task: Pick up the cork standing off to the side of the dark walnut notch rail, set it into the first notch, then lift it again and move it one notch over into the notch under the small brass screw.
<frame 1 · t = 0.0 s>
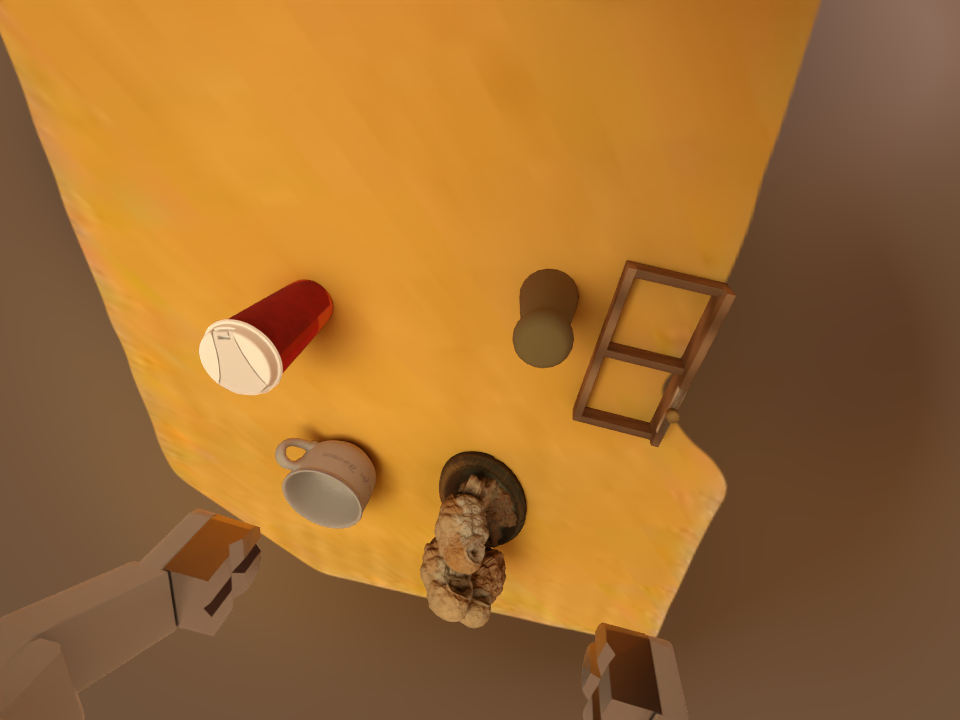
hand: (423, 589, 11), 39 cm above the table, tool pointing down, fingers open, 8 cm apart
teacup: (341, 450, 65), on the table
cork: (548, 296, 48), on the table
paper cup: (311, 302, 54), on the table
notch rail: (641, 353, 49), on the table
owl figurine: (484, 498, 65), on the table
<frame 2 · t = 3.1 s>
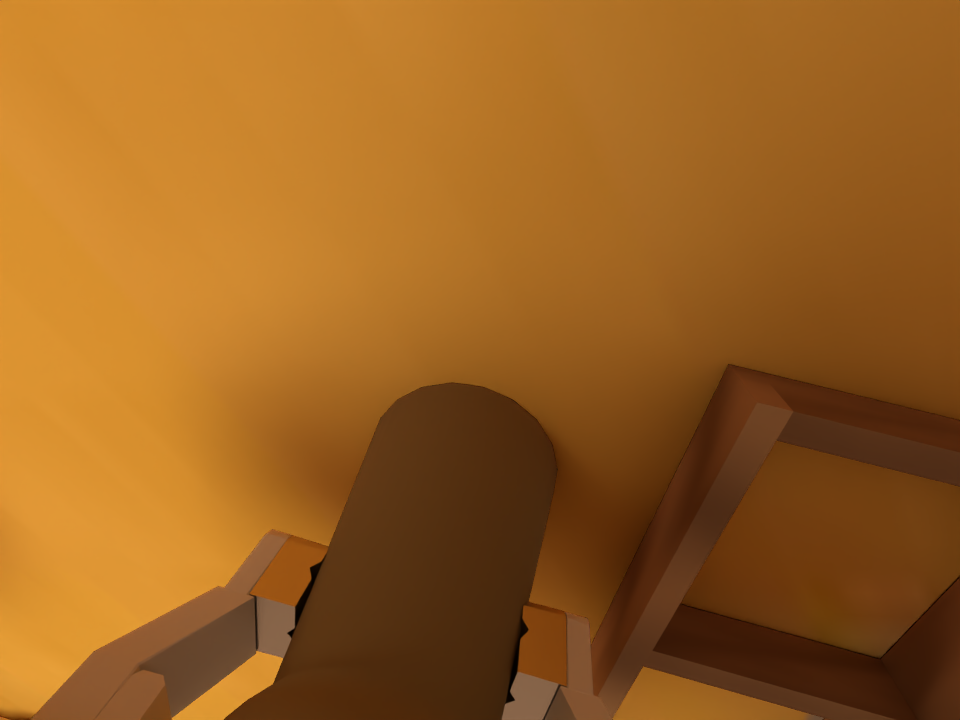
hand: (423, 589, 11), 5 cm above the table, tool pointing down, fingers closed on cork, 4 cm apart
cork: (463, 462, 15), on the table, touching gripper
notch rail: (754, 633, 16), on the table
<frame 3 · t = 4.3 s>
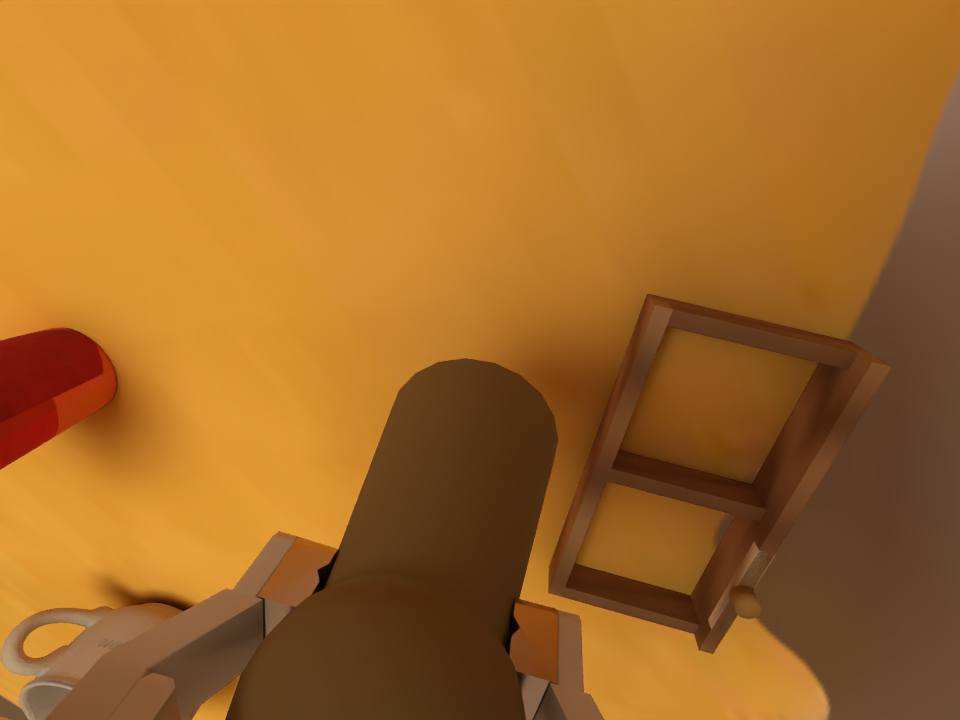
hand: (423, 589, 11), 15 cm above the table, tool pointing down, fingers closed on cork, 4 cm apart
teacup: (164, 615, 39), on the table
cork: (472, 432, 17), point 9 cm above the table, touching gripper
paper cup: (80, 368, 30), on the table
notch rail: (676, 471, 26), on the table
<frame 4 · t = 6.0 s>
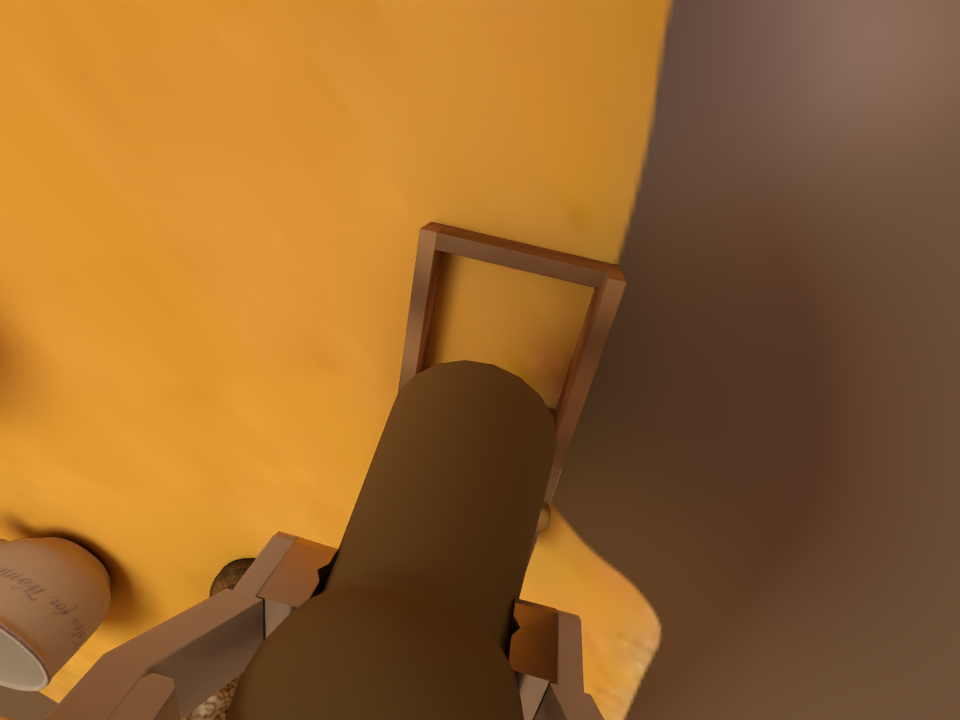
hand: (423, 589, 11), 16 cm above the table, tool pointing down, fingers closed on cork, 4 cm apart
teacup: (65, 549, 41), on the table
cork: (472, 434, 17), point 10 cm above the table, touching gripper
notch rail: (487, 398, 27), on the table
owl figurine: (291, 629, 41), on the table
when the fingers open (6 cm above the table, at t = 8.0 s): cork stays where it is, resting in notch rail.
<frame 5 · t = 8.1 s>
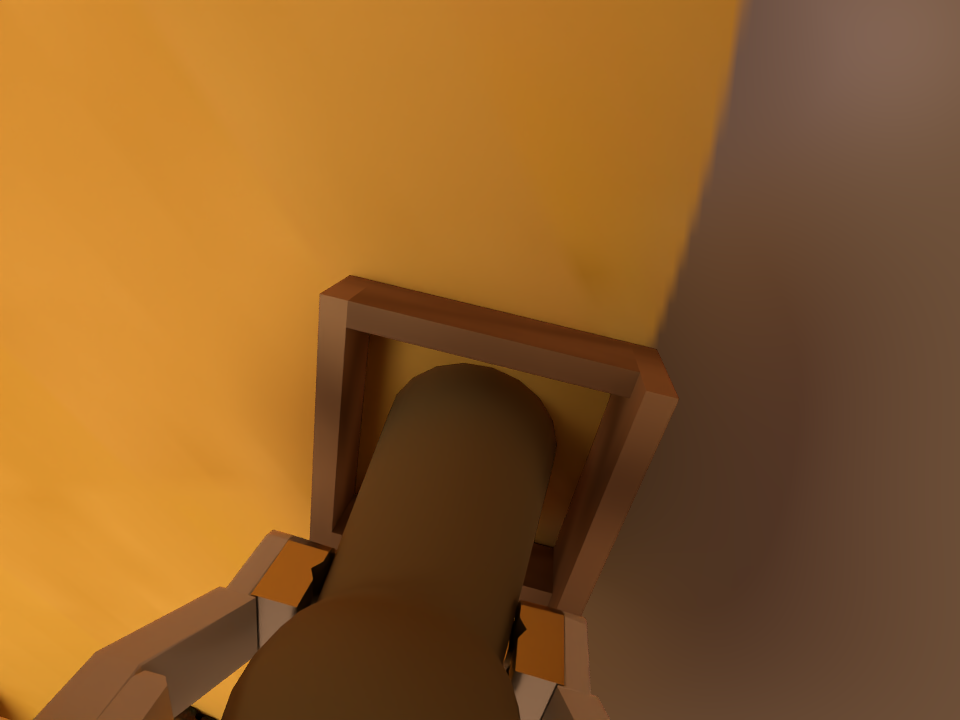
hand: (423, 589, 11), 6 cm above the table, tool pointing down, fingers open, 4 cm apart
cork: (470, 437, 17), resting in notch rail
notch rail: (450, 528, 18), on the table
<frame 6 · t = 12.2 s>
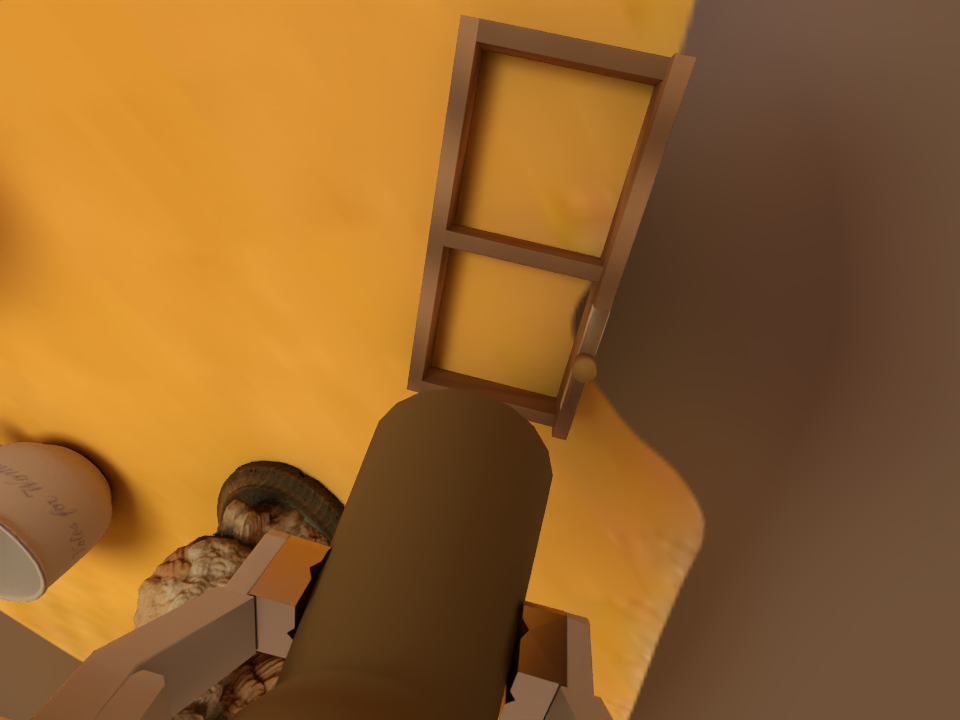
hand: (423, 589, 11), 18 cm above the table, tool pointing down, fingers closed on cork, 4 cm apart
teacup: (64, 462, 39), on the table
cork: (459, 466, 15), point 13 cm above the table, touching gripper
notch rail: (524, 248, 25), on the table
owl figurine: (303, 546, 38), on the table
when the fingers open (6 cm above the table, at t = 14.6 s): cork drops 1 cm, resting in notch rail.
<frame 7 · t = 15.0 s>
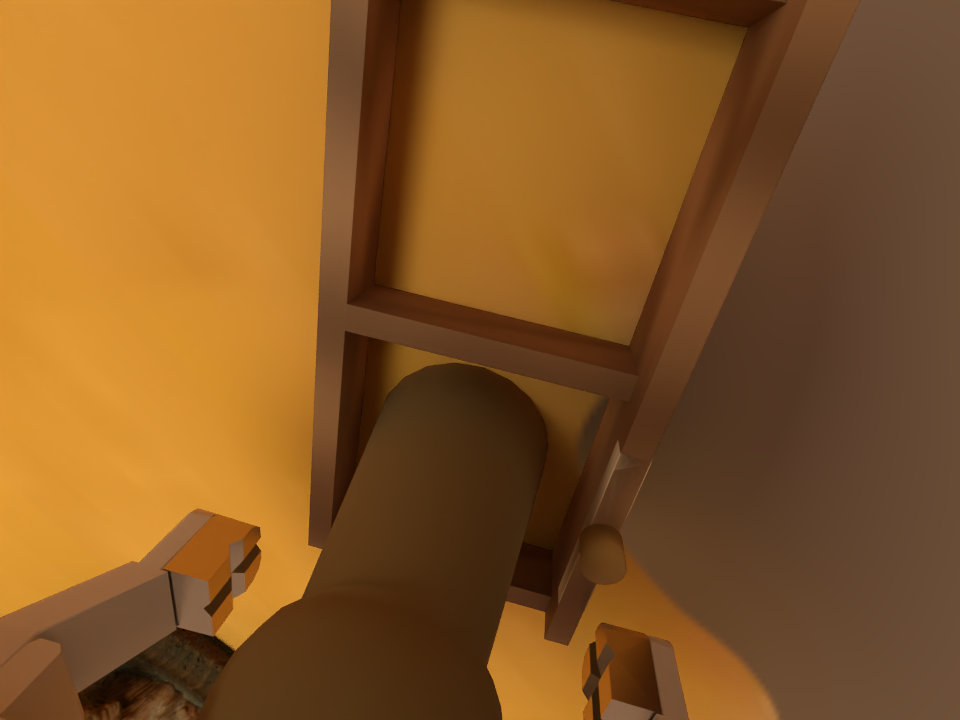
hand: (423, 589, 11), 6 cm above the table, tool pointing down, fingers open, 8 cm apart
cork: (462, 437, 17), resting in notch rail
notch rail: (496, 326, 14), on the table
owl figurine: (203, 703, 28), on the table
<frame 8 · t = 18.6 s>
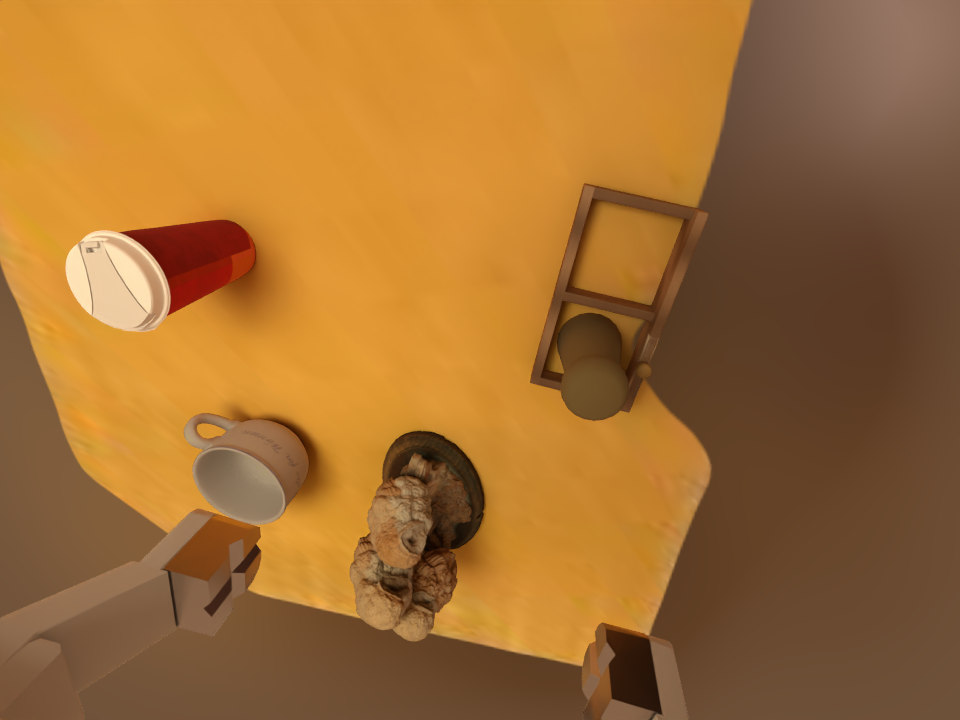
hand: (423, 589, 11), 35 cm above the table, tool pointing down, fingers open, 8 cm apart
teacup: (271, 434, 56), on the table
cork: (588, 341, 45), resting in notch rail
paper cup: (231, 248, 47), on the table
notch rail: (606, 299, 43), on the table
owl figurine: (436, 491, 56), on the table
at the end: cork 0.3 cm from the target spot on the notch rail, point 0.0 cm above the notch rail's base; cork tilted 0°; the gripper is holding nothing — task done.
